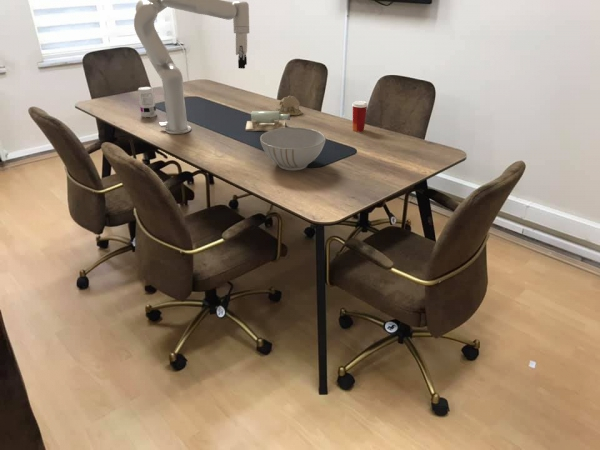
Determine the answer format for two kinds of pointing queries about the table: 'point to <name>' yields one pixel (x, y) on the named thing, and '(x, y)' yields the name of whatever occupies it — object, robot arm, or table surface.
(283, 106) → the ceramic model
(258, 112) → the bottle
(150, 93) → the supplement can
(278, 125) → the bottle rest
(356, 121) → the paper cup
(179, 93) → the robot arm
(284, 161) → the decorative bowl
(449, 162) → the table surface
